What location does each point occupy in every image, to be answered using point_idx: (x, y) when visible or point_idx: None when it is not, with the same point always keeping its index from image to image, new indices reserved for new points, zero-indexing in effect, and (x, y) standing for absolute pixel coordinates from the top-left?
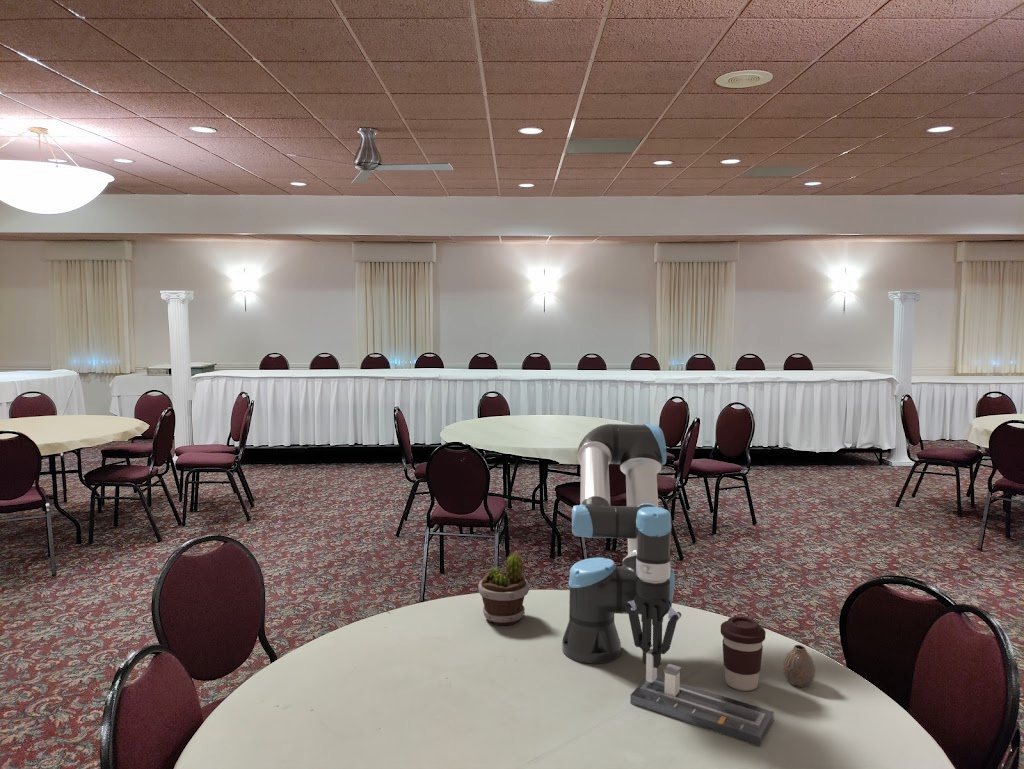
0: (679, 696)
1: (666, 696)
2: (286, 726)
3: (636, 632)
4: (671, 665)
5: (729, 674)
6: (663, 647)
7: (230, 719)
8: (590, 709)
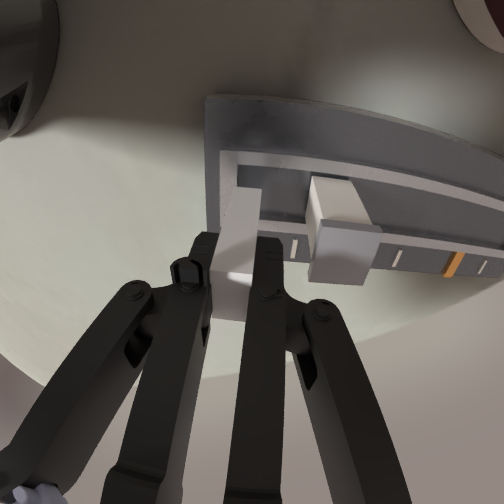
0: None
1: None
2: (30, 366)
3: (125, 393)
4: (337, 237)
5: (492, 33)
6: (311, 372)
7: (14, 363)
8: None
